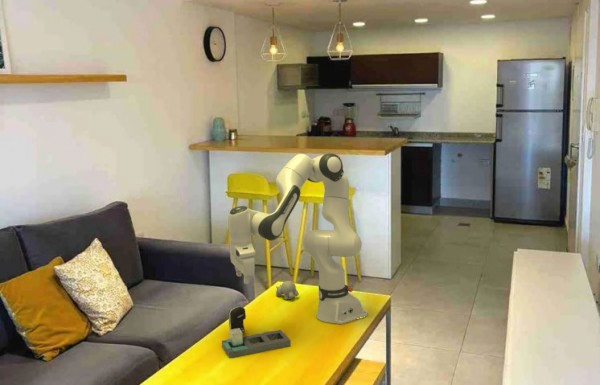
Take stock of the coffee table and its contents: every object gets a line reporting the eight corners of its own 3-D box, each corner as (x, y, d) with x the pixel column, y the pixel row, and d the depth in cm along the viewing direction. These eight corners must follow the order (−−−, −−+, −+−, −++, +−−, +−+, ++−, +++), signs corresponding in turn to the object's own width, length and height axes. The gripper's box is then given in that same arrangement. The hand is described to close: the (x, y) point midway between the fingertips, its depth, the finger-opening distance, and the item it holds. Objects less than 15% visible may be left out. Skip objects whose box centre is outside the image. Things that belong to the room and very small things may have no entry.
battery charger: (235, 338, 245) (234, 311, 243) (229, 335, 247) (227, 309, 245) (247, 332, 250) (246, 306, 248) (241, 330, 252) (240, 304, 250)
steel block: (240, 347, 237) (239, 328, 235) (243, 351, 233) (242, 332, 232) (230, 348, 236) (229, 329, 234) (233, 353, 232) (232, 333, 230)
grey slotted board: (280, 335, 247) (280, 329, 246) (290, 346, 237) (290, 339, 236) (221, 346, 238) (221, 340, 237) (229, 358, 228) (229, 351, 227)
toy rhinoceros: (283, 298, 294) (278, 282, 295) (301, 294, 286) (296, 277, 287) (274, 303, 288) (268, 286, 289) (292, 299, 281) (286, 281, 281)
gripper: (225, 241, 248) (227, 272, 251) (241, 255, 229) (243, 289, 232) (240, 238, 250) (242, 270, 253) (256, 252, 232) (258, 286, 235)
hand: (242, 279), depth 243 cm, fingers open, 8 cm apart
